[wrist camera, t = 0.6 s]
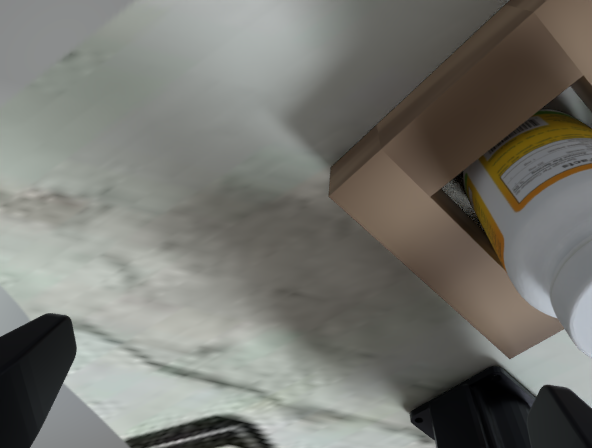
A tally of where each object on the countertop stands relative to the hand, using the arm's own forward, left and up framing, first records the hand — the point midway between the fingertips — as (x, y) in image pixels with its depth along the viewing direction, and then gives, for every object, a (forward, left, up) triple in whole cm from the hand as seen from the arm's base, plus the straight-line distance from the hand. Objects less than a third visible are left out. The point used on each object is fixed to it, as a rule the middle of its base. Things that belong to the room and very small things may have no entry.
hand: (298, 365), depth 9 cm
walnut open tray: (-7, -5, -13) cm, 16 cm away
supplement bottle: (-7, -5, -14) cm, 16 cm away
